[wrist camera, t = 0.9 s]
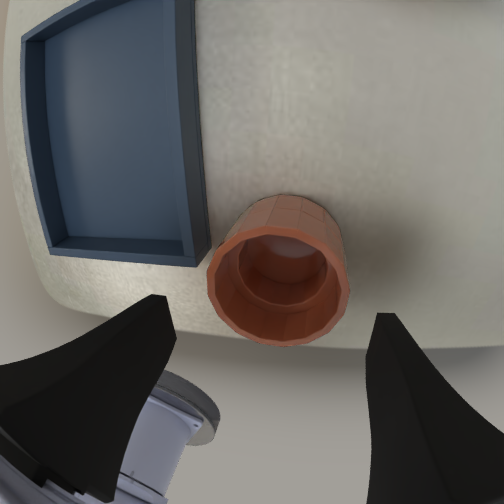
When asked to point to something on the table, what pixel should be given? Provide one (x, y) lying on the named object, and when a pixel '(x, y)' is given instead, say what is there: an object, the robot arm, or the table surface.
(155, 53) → the tray
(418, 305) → the table surface
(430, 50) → the table surface
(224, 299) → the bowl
